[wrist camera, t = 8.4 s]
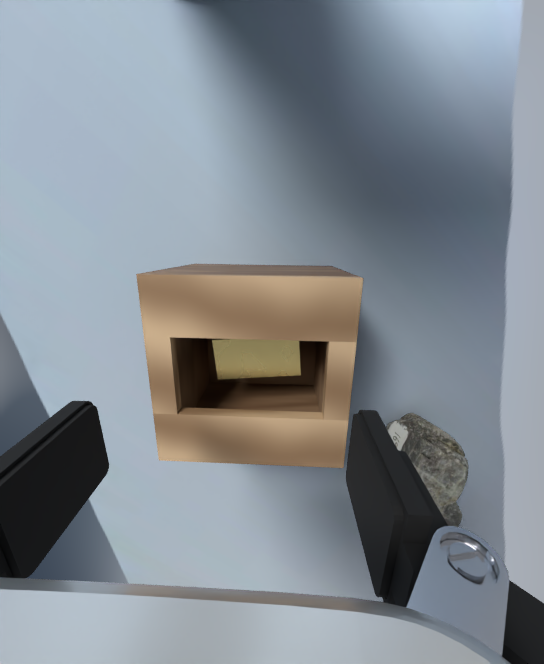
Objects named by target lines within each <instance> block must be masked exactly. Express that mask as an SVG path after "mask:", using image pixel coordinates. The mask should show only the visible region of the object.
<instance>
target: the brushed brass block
mask: <svg viewBox="0 0 544 664" xmlns="http://www.w3.org/2000/svg"><path fill="white" fill-rule="evenodd" d="M212 343H213V350H214V357H215V364H216V371H217V378H218V379H238V378H257V377H276V376H295V375H301V368H300V349H299V341H290V340H252V339H214V338H213V340H212Z"/></svg>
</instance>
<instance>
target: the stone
mask: <svg viewBox="0 0 544 664" xmlns="http://www.w3.org/2000/svg"><path fill="white" fill-rule="evenodd" d="M386 429H387V431H388V433H389V434H390V436H391V438H392V440H393V442H394V444H395V446H396V447H397V449H398V450H400V451H405V452H406V453H407V455H408V456H409V458H410V460H411V461H412V463H413V465H414V467H415V468H416V470H417V472H418V474H419V475H420V477H421V479H422V481H423V482H424V484H425V486H426V488H427V489H428V491H429V493H430V494H431V496H432V498H433V500H434V501H435V503H436V505H437V507H438V508H439V510H440V512H441V514H442V515H443V517H444V519H445V521H446V522H447V524H448V526H455V527H458V526H459V524H460V522H461V519H462V514H461V511H460V509H459V506H458V505H457V503H456V501H457V499H458V498H459V496H460V495H461V493H462V491H463V489H464V486H465V483H466V480H467V476H468V462H467V459H466V458H465V454H464V452H463V450H462V448H461V446H460V445H459V444H458V443H457V442H456V441H455V439H453V438H452V437H451V436H450V435H449V434H447V433H446V432H444V431H443V430H441V429H440V428H438V427H436V426H435V425H433V424H432V423H430V422H428V421H427V420H425V419H423V418H422V417H420V416H418V415H416V414H414V413H408V414H406V415H405V416H404V417H402V418H401V420H395V421H393V422H391V423H389V424H388V425H387V427H386Z"/></svg>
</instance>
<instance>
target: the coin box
mask: <svg viewBox="0 0 544 664" xmlns="http://www.w3.org/2000/svg"><path fill="white" fill-rule="evenodd" d="M136 275H137V283H138V291H139V300H140V308H141V316H142V324H143V333H144V341H145V349H146V357H147V366H148V374H149V382H150V390H151V399H152V407H153V415H154V423H155V432H156V440H157V448H158V456H159V460H165V461H189V462H212V463H236V464H260V465H283V466H307V467H331V468H343V467H344V458H345V448H346V439H347V429H348V419H349V410H350V400H351V391H352V381H353V372H354V362H355V353H356V343H357V333H358V324H359V314H360V305H361V295H362V286H363V278H361V277H358V276H356V275H353V274H351V273H348V272H346V271H343V270H340V269H338V268H335V267H333V266H290V265H230V264H191V265H186V266H180V267H174V268H169V269H163V270H157V271H152V272H146V273H141V274H136ZM213 338H214V339H252V340H290V341H299V349H300V368H301V375H295V376H276V377H257V378H238V379H218V378H217V371H216V364H215V357H214V350H213V343H212V340H213Z"/></svg>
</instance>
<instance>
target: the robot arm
mask: <svg viewBox="0 0 544 664" xmlns="http://www.w3.org/2000/svg"><path fill="white" fill-rule="evenodd" d="M108 469H109V462H108V457H107V453H106V448H105V443H104V439H103V434H102V429H101V425H100V420H99V415H98V411H97V407H96V406H93V404H92V403H91V402H90V401H72V402H70V403H69V404H67V405H66V406H65V407H63V408H62V409H61V410H60V411H58V412H57V413H56V414H54V415H53V416H52V417H50V418H49V419H48V420H47V421H46V422H44V423H43V424H41V425H40V426H39V427H38V428H36V429H35V430H34V431H32V432H31V433H30V434H29V435H27V436H26V437H25V438H23V439H22V440H21V441H20V442H19V443H17V444H16V445H14V446H13V447H12V448H10V449H9V450H8V451H7V452H5V453H4V454H3V455H2V456H0V664H544V603H542V602H541V601H539V600H538V599H536V598H535V597H533V596H532V595H530V594H529V593H527V592H526V591H524V590H523V589H521V588H520V587H519V586H517V585H516V584H514V583H513V582H511V581H510V580H509V576H508V570H507V568H506V566H505V564H504V562H503V560H502V559H501V557H500V556H499V555H498V553H497V552H496V551H495V550H494V549H493V548H492V547H491V546H490V545H489V544H488V543H487V542H486V541H485V540H483V539H482V538H480V537H479V536H477V535H476V534H474V533H472V532H470V531H468V530H466V529H463V528H460V527H455V526H448V524H447V522H446V521H445V519H444V517H443V515H442V514H441V512H440V510H439V508H438V507H437V505H436V503H435V501H434V500H433V498H432V496H431V494H430V493H429V491H428V489H427V488H426V486H425V484H424V482H423V481H422V479H421V477H420V475H419V474H418V472H417V470H416V468H415V467H414V465H413V463H412V461H411V460H410V458H409V456H408V455H407V453H406V452H405V451H400V450H398V449H397V447H396V446H395V444H394V442H393V440H392V438H391V436H390V434H389V433H388V431H387V429H386V427H385V425H384V423H383V421H382V420H381V418H380V416H379V414H378V412H377V411H373V410H360V411H359V413H358V414H354V415H353V421H352V429H351V438H350V446H349V454H348V462H347V470H346V482H347V487H348V491H349V494H350V498H351V502H352V506H353V510H354V514H355V518H356V522H357V526H358V530H359V533H360V537H361V541H362V545H363V549H364V553H365V557H366V561H367V565H368V568H369V572H370V576H371V580H372V584H373V588H374V591H375V594H376V596H377V597H382V598H383V601H384V602H377V601H370V600H363V599H355V598H346V597H334V596H321V595H309V594H297V593H283V592H266V591H249V590H232V589H216V588H199V587H181V586H163V585H144V584H125V583H106V582H87V581H65V580H45V579H25V578H27V577H29V576H30V575H31V574H32V573H33V572H34V571H35V570H36V568H37V567H38V566H39V564H40V563H41V561H42V560H43V559H44V557H45V556H46V555H47V553H48V552H49V551H50V549H51V548H52V546H53V545H54V544H55V543H56V541H57V540H58V539H59V537H60V536H61V535H62V533H63V532H64V531H65V529H66V528H67V527H68V525H69V524H70V523H71V521H72V520H73V519H74V517H75V516H76V515H77V513H78V512H79V510H80V509H81V508H82V506H83V505H84V504H85V502H86V501H87V500H88V498H89V497H90V496H91V494H92V493H93V492H94V490H95V489H96V488H97V486H98V485H99V484H100V482H101V481H102V480H103V478H104V477H105V476H106V474H107V472H108Z"/></svg>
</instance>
